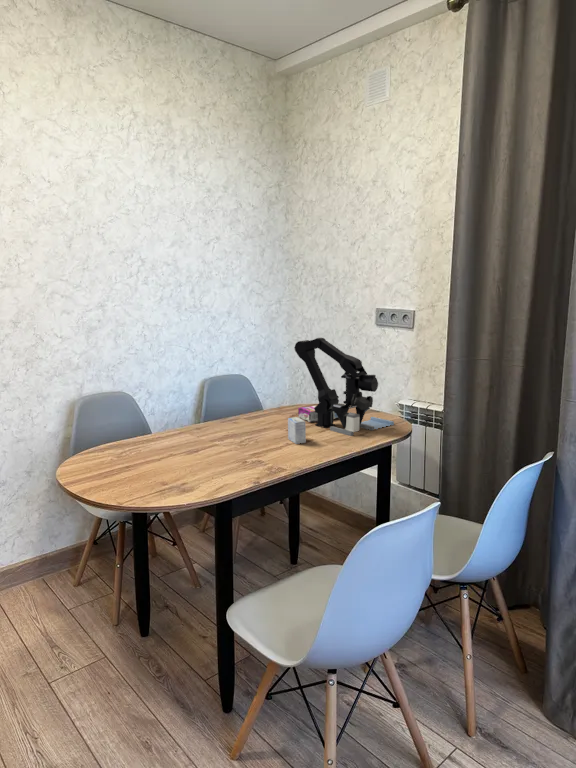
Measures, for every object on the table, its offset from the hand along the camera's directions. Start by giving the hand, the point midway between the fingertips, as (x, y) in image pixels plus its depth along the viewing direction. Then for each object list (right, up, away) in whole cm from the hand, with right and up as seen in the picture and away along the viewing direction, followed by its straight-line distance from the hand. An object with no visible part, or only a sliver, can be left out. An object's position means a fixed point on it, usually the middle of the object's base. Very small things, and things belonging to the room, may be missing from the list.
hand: (352, 425), depth 222 cm
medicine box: (-23, -5, -15) cm, 28 cm away
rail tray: (+5, -1, +4) cm, 7 cm away
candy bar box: (-20, +3, +17) cm, 27 cm away
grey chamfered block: (0, -2, 0) cm, 2 cm away
